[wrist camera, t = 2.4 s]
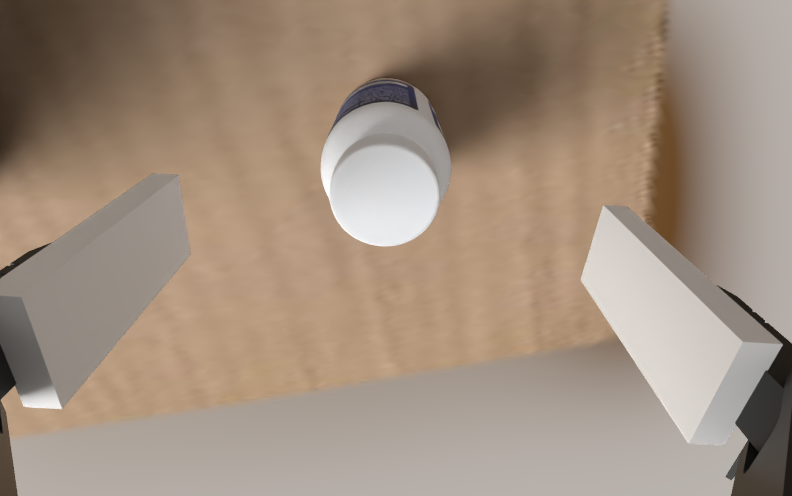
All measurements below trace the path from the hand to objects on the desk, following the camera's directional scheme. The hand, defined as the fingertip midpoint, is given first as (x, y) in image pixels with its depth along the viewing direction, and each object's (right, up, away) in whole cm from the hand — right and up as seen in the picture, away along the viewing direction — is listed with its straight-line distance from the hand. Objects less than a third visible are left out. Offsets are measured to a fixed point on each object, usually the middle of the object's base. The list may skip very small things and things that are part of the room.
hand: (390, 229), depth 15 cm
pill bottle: (0, +6, +11) cm, 12 cm away
